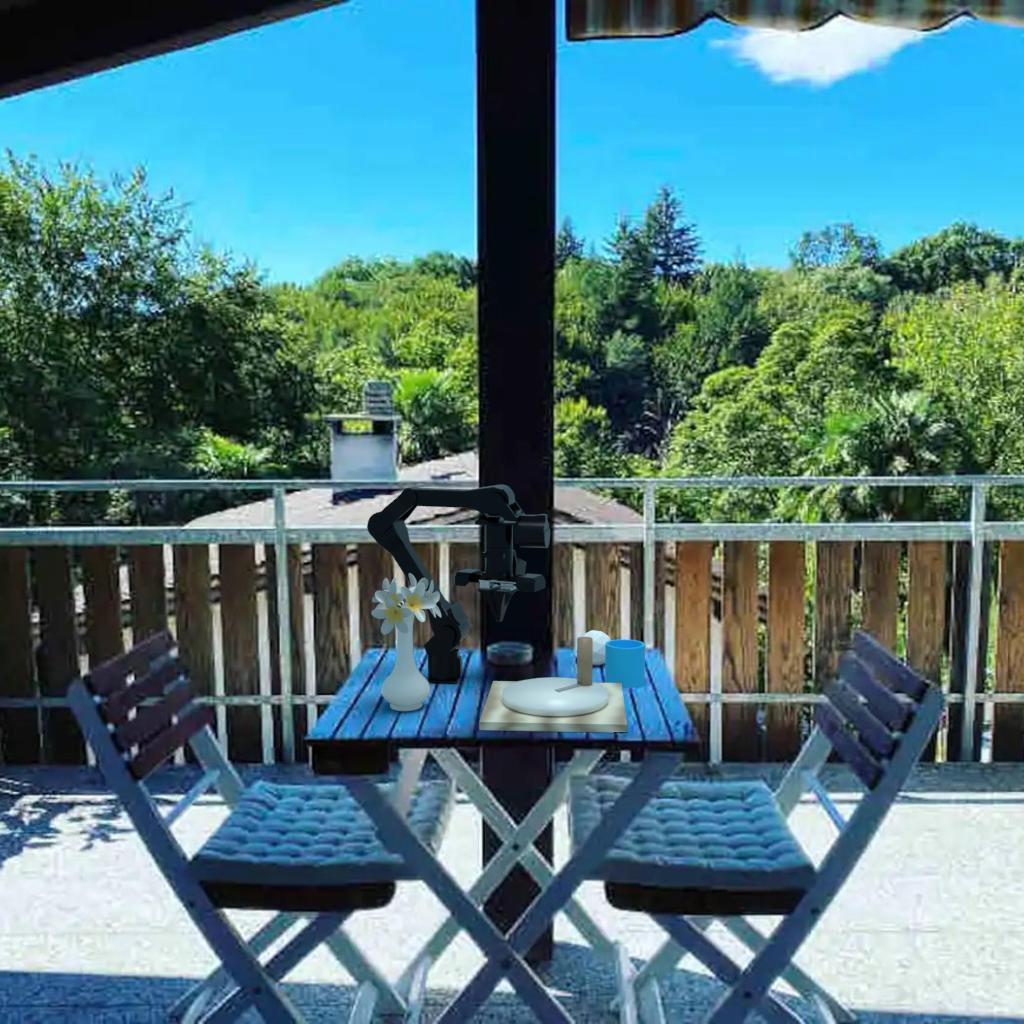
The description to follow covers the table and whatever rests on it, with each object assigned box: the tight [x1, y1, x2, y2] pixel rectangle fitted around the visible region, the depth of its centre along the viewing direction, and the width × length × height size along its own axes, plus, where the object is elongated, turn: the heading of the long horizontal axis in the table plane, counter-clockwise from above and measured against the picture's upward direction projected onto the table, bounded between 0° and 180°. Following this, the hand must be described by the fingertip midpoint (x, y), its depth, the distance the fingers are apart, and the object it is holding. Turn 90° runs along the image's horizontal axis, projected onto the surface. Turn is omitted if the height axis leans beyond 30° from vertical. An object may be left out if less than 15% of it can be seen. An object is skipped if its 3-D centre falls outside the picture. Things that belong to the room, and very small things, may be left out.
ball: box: [581, 629, 611, 667], centre depth 215 cm, size 8×8×8 cm
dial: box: [502, 636, 608, 716], centre depth 183 cm, size 20×20×10 cm
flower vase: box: [370, 573, 441, 712], centre depth 183 cm, size 13×18×25 cm
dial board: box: [478, 680, 628, 734], centre depth 184 cm, size 26×26×2 cm
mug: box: [604, 638, 646, 689], centre depth 203 cm, size 12×8×8 cm
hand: (499, 621), depth 200 cm, fingers closed
